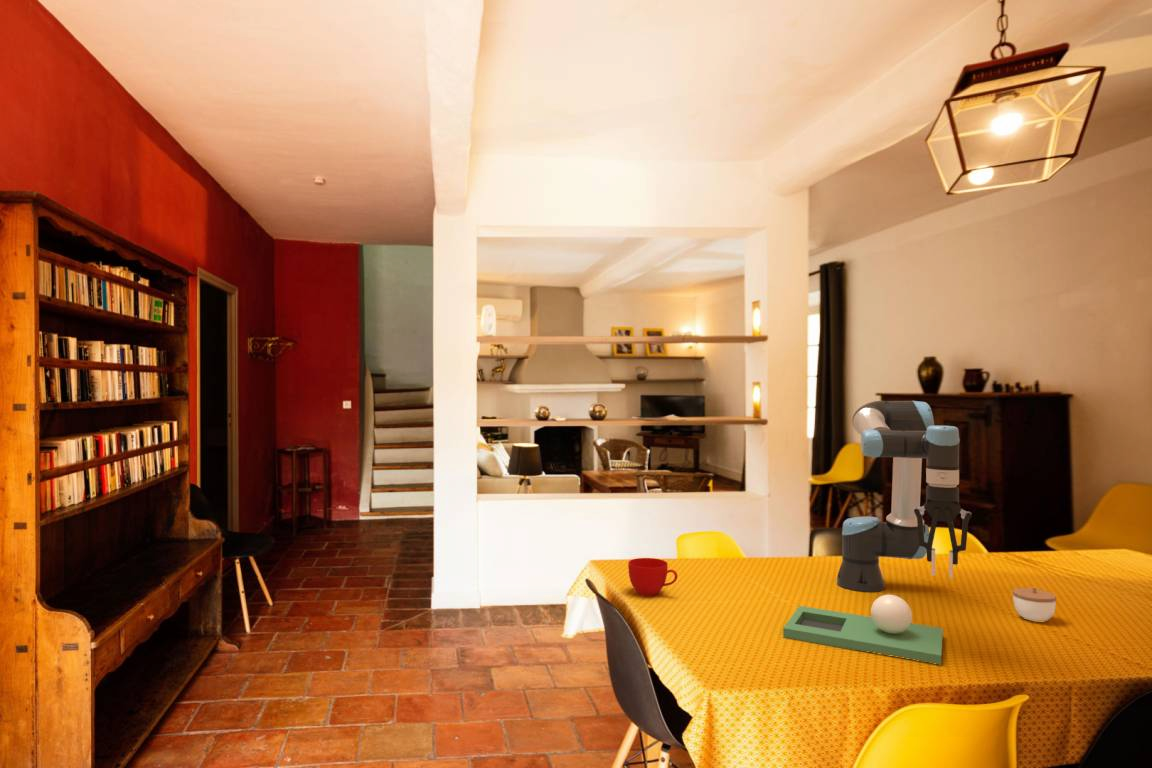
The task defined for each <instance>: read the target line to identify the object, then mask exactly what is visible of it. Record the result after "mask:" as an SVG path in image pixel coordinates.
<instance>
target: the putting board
mask: <svg viewBox="0 0 1152 768" xmlns="http://www.w3.org/2000/svg"><path fill="white" fill-rule="evenodd" d="M943 634H944V629H943V627H937V626H930V625H925V624H919V623H912V622H911V624H910V626H909V627H908V629H906V630H905V631H904V632H902V633H898V634H890V633H886V632H884V631H882V630H881V629H880V628H878V627H877V626H876V624H875V623H874V621H873V619H872V616H868V615H860V614H853V613H848V612H842V611H834V610H829V609H821V608H816V607H809V606H803V605H799V606H798V607H797V608H796V610H795V611H794V612H793V614H792V615H791V617H790V618H789V620H788V621H787V623H786V624H785V625H784V626H783V629H782V636H783V638H785V639H791V640H797V641H802V642H806V643H807V642H808V643H811V644H812V643H813V644H819V645H823V646H828V647H835V648H840V649H847V650H851V649H852V651H857V650H861V651H860V652H862V651H869V652H875V653H881V654H886V655H893V656H898V657H904V658H909V659H915V660H919V661H926V662H931V663H936V664H941V665H942V658H941V657H942V655H943V641H942V640H943V638H944V637H943V636H944V635H943Z"/></svg>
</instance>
